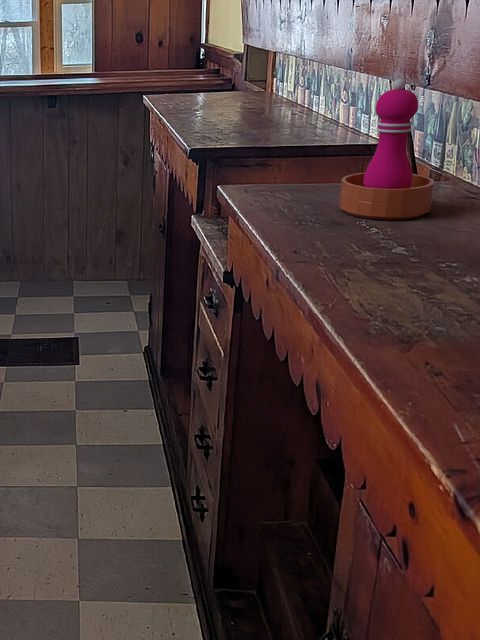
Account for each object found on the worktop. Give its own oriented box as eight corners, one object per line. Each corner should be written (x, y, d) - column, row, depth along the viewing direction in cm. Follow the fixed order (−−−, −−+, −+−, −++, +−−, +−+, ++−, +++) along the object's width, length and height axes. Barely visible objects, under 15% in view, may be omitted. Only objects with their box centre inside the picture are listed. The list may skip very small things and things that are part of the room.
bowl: (444, 208, 140) (449, 177, 138) (406, 225, 131) (410, 193, 129) (363, 197, 149) (366, 168, 147) (323, 213, 141) (326, 182, 139)
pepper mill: (386, 200, 144) (402, 75, 136) (419, 209, 138) (437, 78, 130) (350, 205, 142) (364, 78, 134) (381, 214, 136) (397, 82, 128)
